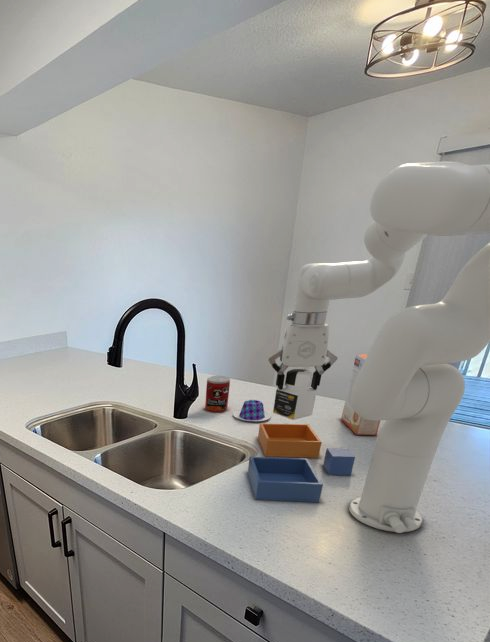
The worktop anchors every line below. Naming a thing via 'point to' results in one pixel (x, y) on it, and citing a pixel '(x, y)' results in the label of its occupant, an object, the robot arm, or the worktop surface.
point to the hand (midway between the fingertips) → (296, 387)
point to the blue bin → (284, 479)
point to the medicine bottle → (295, 395)
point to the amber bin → (289, 440)
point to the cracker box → (349, 415)
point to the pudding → (252, 411)
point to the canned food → (217, 393)
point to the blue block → (338, 461)
